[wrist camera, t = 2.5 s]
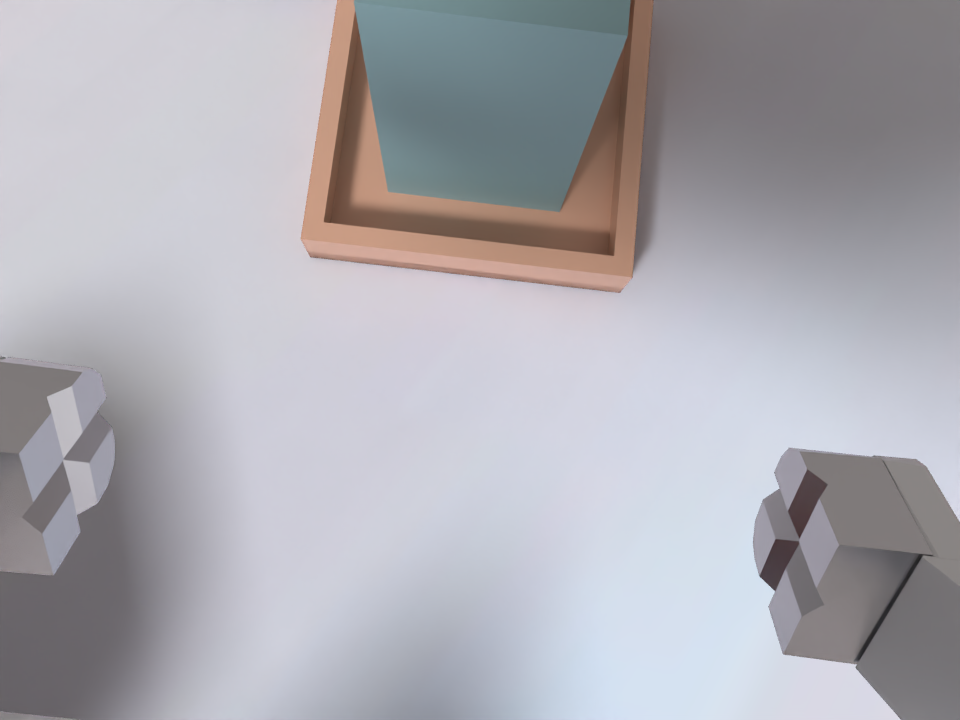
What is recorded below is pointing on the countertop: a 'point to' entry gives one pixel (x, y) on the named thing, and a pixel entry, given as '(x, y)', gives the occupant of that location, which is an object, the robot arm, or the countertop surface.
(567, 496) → the countertop surface
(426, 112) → the cover
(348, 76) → the dish
